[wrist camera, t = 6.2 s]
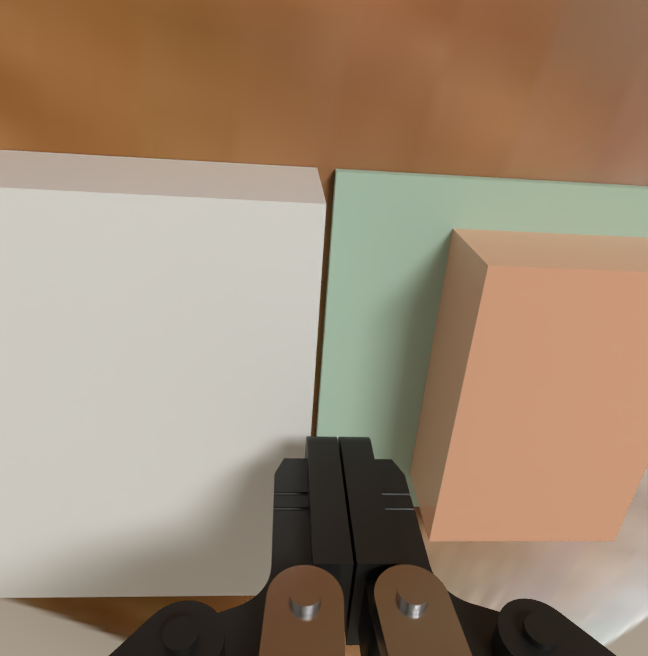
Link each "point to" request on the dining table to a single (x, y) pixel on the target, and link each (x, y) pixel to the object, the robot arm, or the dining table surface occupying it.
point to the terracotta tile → (535, 388)
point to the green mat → (423, 282)
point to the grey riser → (151, 369)
